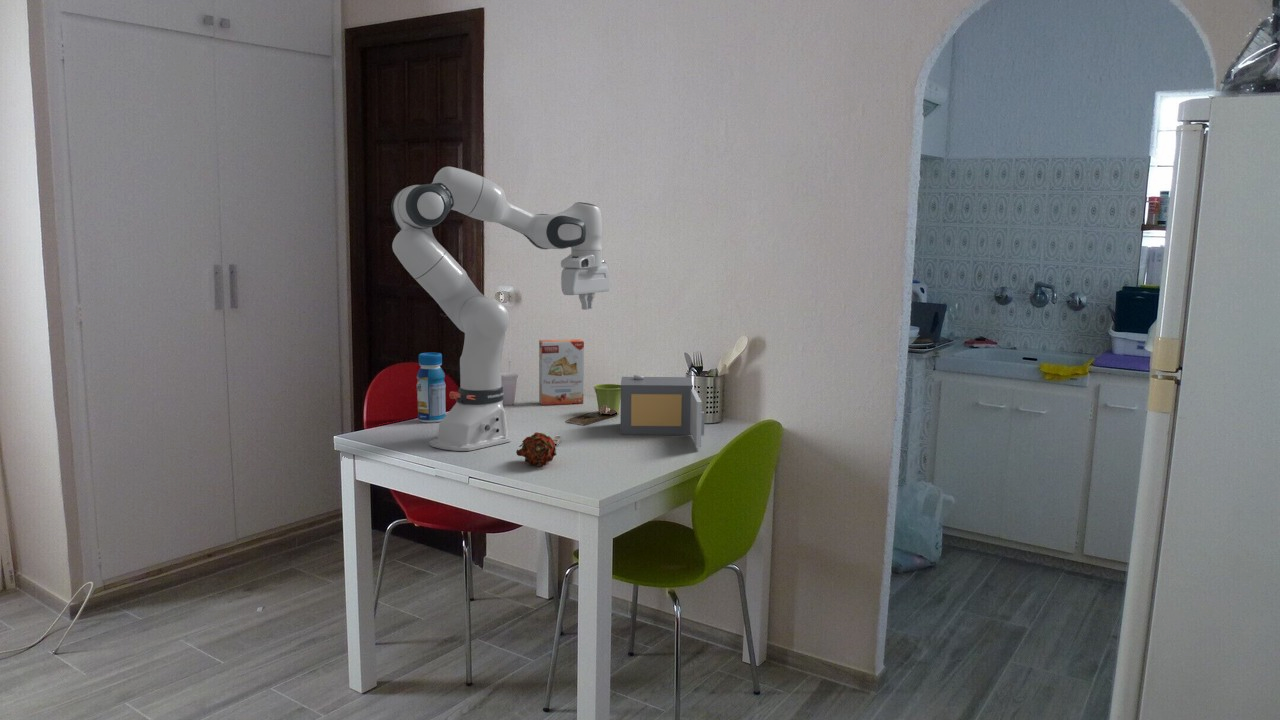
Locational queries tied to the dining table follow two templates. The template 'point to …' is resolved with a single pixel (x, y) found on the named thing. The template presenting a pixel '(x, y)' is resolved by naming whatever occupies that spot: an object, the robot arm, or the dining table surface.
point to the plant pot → (608, 396)
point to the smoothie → (509, 386)
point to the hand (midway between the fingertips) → (586, 309)
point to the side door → (696, 418)
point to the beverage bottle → (431, 388)
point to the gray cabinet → (656, 405)
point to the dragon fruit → (537, 449)
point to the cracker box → (561, 371)
